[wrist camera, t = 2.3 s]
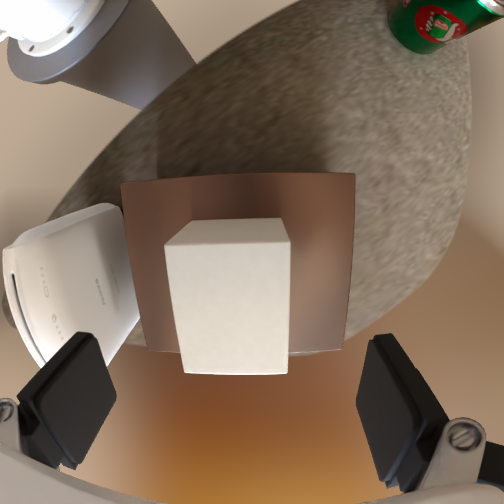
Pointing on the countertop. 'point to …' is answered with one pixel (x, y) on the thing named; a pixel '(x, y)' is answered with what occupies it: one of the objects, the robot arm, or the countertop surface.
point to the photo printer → (72, 282)
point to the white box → (231, 295)
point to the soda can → (440, 21)
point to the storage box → (246, 207)
